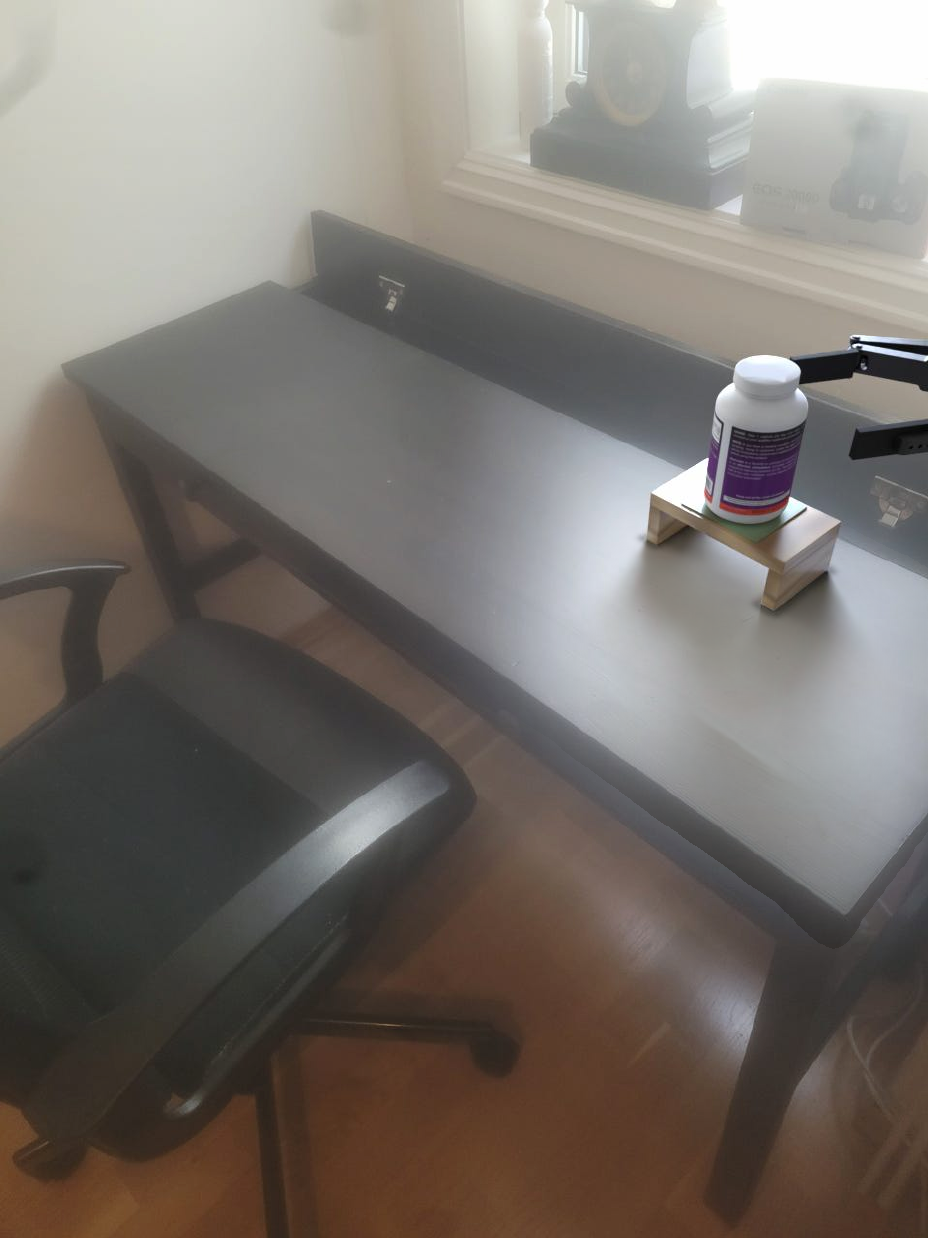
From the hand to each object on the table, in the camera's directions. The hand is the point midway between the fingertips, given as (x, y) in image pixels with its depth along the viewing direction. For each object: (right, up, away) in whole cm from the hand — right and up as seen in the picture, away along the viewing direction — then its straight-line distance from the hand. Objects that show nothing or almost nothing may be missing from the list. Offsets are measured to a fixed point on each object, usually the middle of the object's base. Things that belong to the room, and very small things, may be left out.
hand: (818, 405), depth 79 cm
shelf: (-4, -13, +11) cm, 17 cm away
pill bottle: (-5, -8, +7) cm, 12 cm away
